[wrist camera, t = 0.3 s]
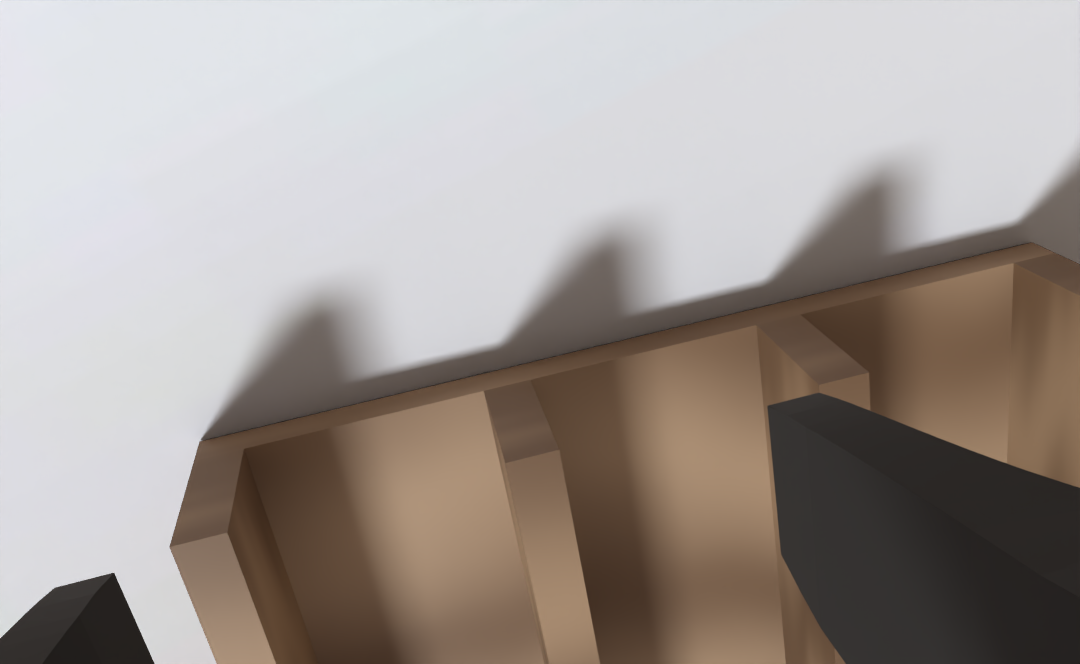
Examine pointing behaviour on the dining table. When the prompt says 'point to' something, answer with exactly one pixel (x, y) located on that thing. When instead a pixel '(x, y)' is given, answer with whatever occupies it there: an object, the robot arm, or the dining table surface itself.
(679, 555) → the rack
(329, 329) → the dining table surface
